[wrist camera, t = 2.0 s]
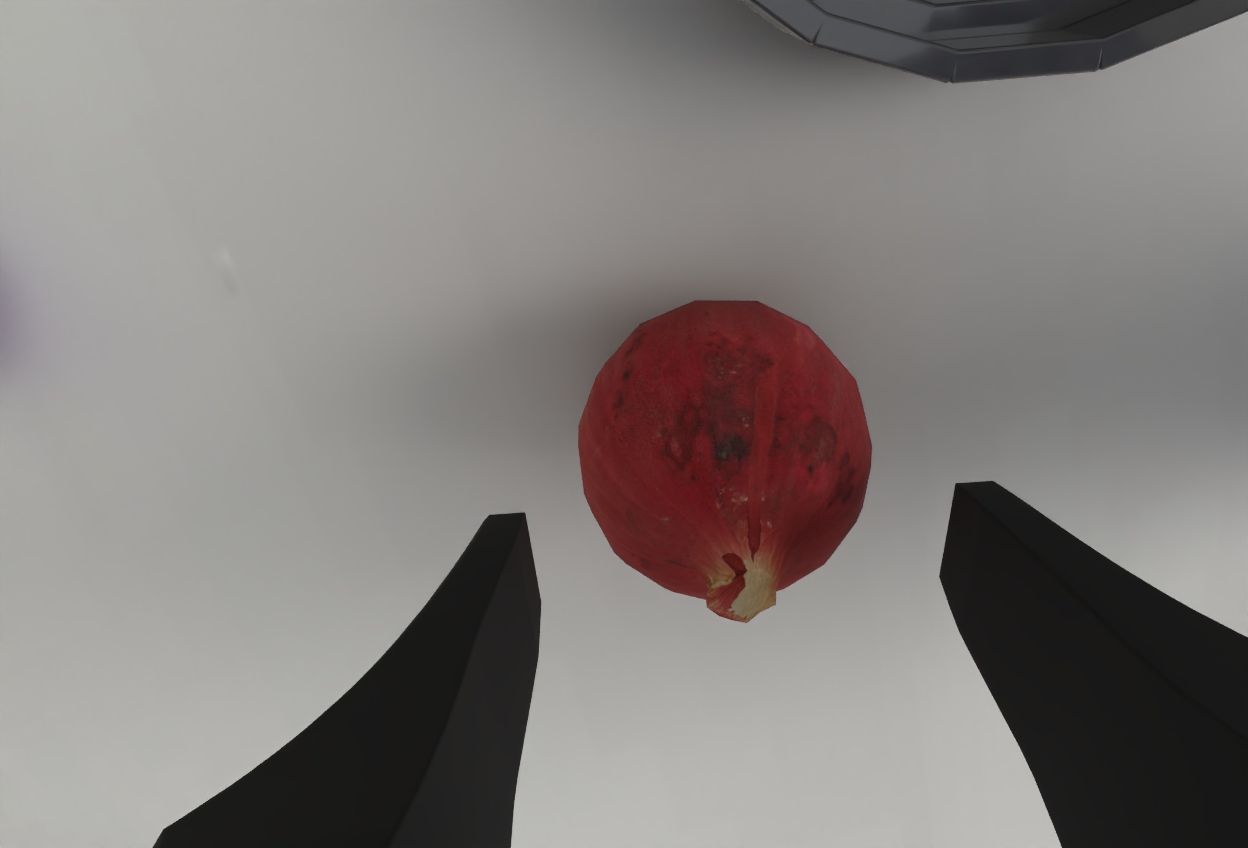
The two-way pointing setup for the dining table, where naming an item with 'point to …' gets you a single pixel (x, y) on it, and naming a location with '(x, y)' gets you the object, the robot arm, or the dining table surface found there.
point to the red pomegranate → (725, 453)
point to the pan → (993, 32)
